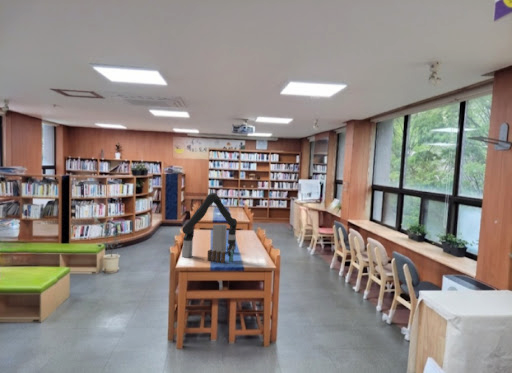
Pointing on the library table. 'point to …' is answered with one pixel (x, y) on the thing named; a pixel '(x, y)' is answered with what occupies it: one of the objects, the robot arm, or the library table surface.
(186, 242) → the robot arm
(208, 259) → the domino
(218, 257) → the domino
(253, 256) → the library table surface
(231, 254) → the domino
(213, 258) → the domino
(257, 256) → the library table surface
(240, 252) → the library table surface
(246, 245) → the library table surface
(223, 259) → the domino
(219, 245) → the tall gray block
